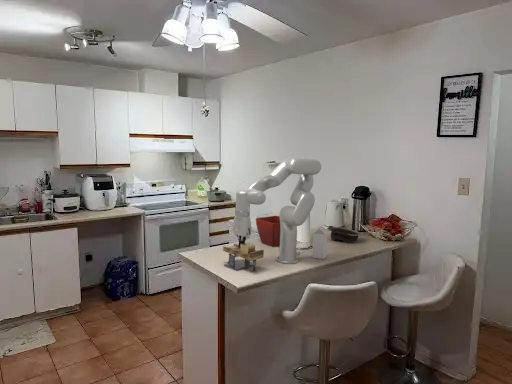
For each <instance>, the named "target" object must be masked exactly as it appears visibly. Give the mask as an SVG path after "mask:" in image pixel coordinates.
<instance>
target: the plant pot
mask: <svg viewBox="0 0 512 384" xmlns="http://www.w3.org/2000/svg"><path fill="white" fill-rule="evenodd" d="M255 224H256V228H257V233H258V236H259V237H258V238H259V239H260V240H259V241H260V242H261V244H263V245H267V246H271V248H274V247H280V218H279V215H270V216H263V217H258V218H257V217H256V218H255Z"/></svg>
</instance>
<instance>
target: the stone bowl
mask: <svg viewBox="0 0 512 384" xmlns="http://www.w3.org/2000/svg"><path fill="white" fill-rule="evenodd" d="M326 230H329V231H330V232H331V233H330V238H331V240H333V241H341V240H342V241H343V243H346V244H349V243H351V242H352V243H355V242H356V241H357V240H358V239H359V236H360V237H361V236H363V233H362V232H360V231H357V230H353V229H349V228H345V227H334V226H333V225H329V226H328V228H326Z"/></svg>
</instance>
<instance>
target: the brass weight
mask: <svg viewBox="0 0 512 384" xmlns="http://www.w3.org/2000/svg"><path fill="white" fill-rule="evenodd" d="M255 250H256V244H254V243H251V242H245V243H242V244H240V251H241V252H244V253H247V254H249V255H250V253H251V252H255Z"/></svg>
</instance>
